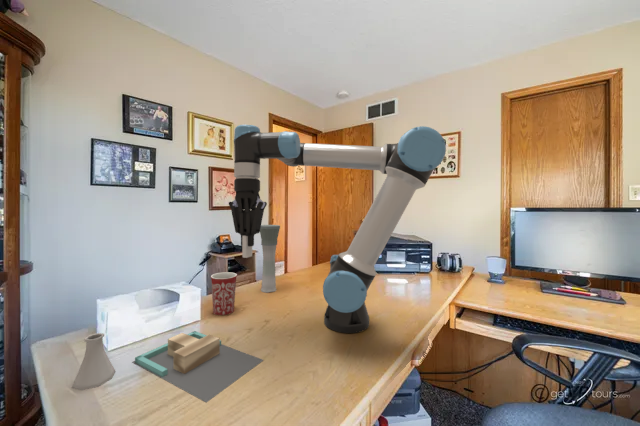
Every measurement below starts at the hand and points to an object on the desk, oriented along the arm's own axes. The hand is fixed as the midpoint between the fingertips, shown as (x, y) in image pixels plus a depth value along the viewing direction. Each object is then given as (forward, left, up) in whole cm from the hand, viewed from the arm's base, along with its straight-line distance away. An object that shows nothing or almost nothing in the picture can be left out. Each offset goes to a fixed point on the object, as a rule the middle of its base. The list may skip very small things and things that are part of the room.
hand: (247, 256), depth 82 cm
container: (+22, -37, -24) cm, 49 cm away
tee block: (+3, +17, -23) cm, 29 cm away
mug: (+21, -10, -24) cm, 33 cm away
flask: (+13, +33, -24) cm, 43 cm away
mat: (-1, +17, -24) cm, 29 cm away
